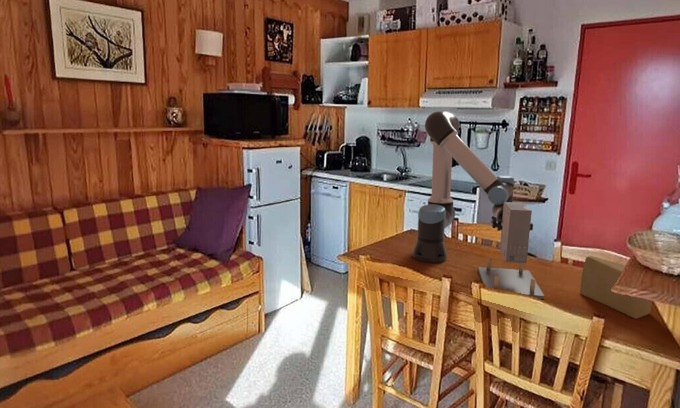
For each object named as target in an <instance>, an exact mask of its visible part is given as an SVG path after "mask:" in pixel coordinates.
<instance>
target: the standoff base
mask: <svg viewBox="0 0 680 408" xmlns="http://www.w3.org/2000/svg"><path fill="white" fill-rule="evenodd" d="M486 259H487V260H486V266H485V267H484V266H478V269H477V270H478V274H479V277H480V281H481V283H482V282H483V283H484V284H485V285H486V286H487V287H489V288H494V289H500V290H506V291H511V292H516V293H521V294H525V295H529V296H533V297H537V298H540V299H544V300H545V294H544V293H543V290H541V288H540V286H539V284H538V283H537V281H536V278H534V276H533V275H532V274H531V271H530V269H529V270H528V269H527V270H526V269H524V264H525V263H518V264H519V265H518V269H517V268H516V269H511V268H503V267H502V268H500V267H492V257H487V258H486ZM540 299H539V300H540Z"/></svg>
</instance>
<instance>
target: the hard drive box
mask: <svg viewBox="0 0 680 408" xmlns="http://www.w3.org/2000/svg"><path fill="white" fill-rule="evenodd" d="M532 212H533V210H531V208H529V207H528V206H527V205H526V204H525V203H524V202H514V201H512V202H504V206H503V218H502V221H503V222H502V223H504V225H505V226H506V233H505V234H503V232H502V231H501V230H500V232H501V234H500V242H499V251H500V253H501V255H502V258H503V260H504V262H505V263H513V264H514V263H516V264H519V263H524V264H527V261H528V251H529V244H530V243H529V242H530V241H529V240H530V231H531V230H530V223H532V222H531V221H532V214H533V213H532Z"/></svg>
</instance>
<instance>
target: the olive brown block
mask: <svg viewBox="0 0 680 408" xmlns="http://www.w3.org/2000/svg"><path fill="white" fill-rule="evenodd" d="M583 264H584V265H583V268H582V271H581V272H582V273H581V279H580V284H579V285H580V287H579V293H580V295H582V296H584V297H586V298H589V299H591V300H593V301H596V302H598V303H600V304H602V305H605V306H607V307H610V308H612V309H614V310H615V311H618V312H619V313H622V314H623V315H626V316H628V317H631V318H633V319H635V320H636V319H641V318H642V317H645V316H647V315H649V314H650V313H651V310H652V309H651V308H652V303H653V300H652V301H648V300H645V299H641V298H637V297H631V296H628V295H621V294H617V293H614V292H612V291H611V288H612V287H613V286H614V284H615V283H616V282H617V280H618V278H619V277H620V275H621V273H622V271H623V269H624V267H625V266H626V265H627V264H622V263H618V262H615V261H611V260H607V259H603V258H602V257H601V258H600V257H597V256H592V255H590V256H586V257H585V259H584V263H583Z"/></svg>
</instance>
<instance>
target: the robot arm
mask: <svg viewBox="0 0 680 408" xmlns="http://www.w3.org/2000/svg"><path fill="white" fill-rule="evenodd" d="M424 122H425V123H424V129H425V132H426V134H427V136H428V137H430V139H429V143H431V144H432V145H433V147H432V151H433V152H432V171H431V176H432V177H431V196H430V197H429V198H428V200H427V204H424V205H423V206H421V207H419V210H418V214H417V217H418V218H417V219H418V220H417V221H418V222H417V238H416V242H415V245H414V248H413V250H412V258H413V259H414V260H416V261H418V262H421V263H422V262H423V263H430V264H434V263H436V264H437V263H443V262H445V261H446V260H447V259H448V257H447V256H448V253H447V249H446V247H445V229H446V228H447V227H449V226H450V225H451V224H452V223H453V222H454V220H455V216H456V210H455V207H454V199H453V198H452V197H451V191H452V190H451V189H452V188H451V187H452V167H453V160H455V161H456V162H457V164H458V165H459V166H461V168H462V169H463V171H465V173H467V174H468V175H469V177H471V179H472V180H473V181H474V182H475V183H476V184H477V185H478V186H479V188H480V189H482V191H484V193H485V194H486V195H487V197H488V198H487V199H488V200H489V202H490V203H491V204H493V205H492V214H493V216H491V221H490V222H491V224H492V227H491V228H492V229H496V228H497V229H496V230H497V231H499V232H501V231H502V232H503V234H505V233H506V226H505V225H504V223H502V222H503V221H502V218H503V206H504V202H514V201H513V198H514V188H515V178H514V177H513V176H510V175H498V176H496V174H494V172H492V170H491V169H489V167H488V166H487V165H486V164H485V163H484V162H483V161H482V160H481V159H480V158H479V157H478V156H477V155H476V153H474V151H473V150H472V149H471V148H470V147H469V146H468V145H467V144H466V142H464V141H463V140H462V138H460V136H459V135H458V134H457V133H458V132H459V130H460V129H459V128H460V120H459V118H458V116H456V114H455V113H453V112H451V111H448V110H444V111H443V110H442V111H434V112H432V113H431V114H429V115H428V117H426V119H425V121H424ZM533 229H534V223H533V222H531V223H530V231H533Z"/></svg>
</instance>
